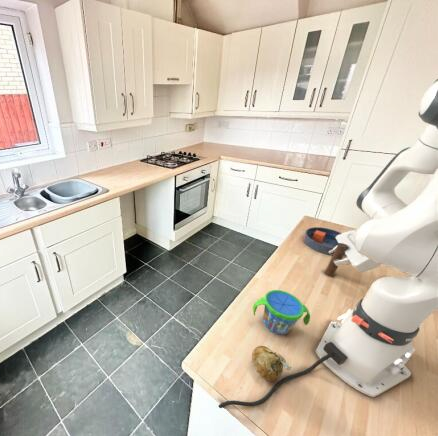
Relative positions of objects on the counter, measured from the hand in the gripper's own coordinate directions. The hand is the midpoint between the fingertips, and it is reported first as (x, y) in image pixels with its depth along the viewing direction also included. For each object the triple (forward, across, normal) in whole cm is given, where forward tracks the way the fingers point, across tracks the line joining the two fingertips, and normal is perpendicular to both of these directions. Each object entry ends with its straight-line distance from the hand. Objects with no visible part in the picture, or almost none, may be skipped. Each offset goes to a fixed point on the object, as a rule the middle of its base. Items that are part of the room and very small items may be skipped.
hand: (332, 258), depth 94 cm
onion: (+24, +48, -13) cm, 55 cm away
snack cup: (+21, +32, -10) cm, 40 cm away
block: (+3, -25, +7) cm, 26 cm away
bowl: (+1, -22, +9) cm, 24 cm away
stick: (+4, 0, +6) cm, 8 cm away
